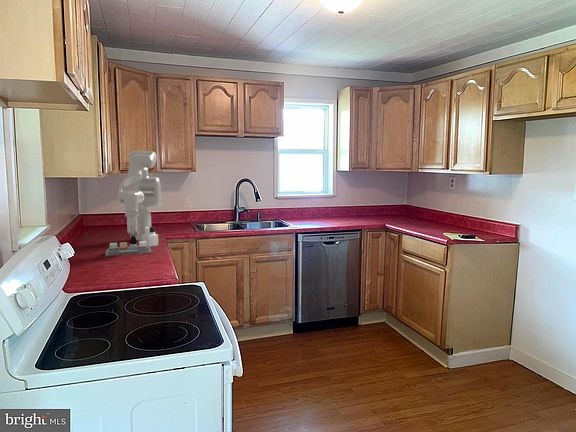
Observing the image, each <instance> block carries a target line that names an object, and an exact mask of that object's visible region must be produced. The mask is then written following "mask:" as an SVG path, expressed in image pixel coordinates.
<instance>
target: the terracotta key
mask: <svg viewBox="0 0 576 432" xmlns="http://www.w3.org/2000/svg"><path fill="white" fill-rule="evenodd" d="M119 247H120V248H127V247H128V242H127V241H125V242H119Z"/></svg>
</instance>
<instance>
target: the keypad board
mask: <svg viewBox="0 0 576 432" xmlns="http://www.w3.org/2000/svg"><path fill="white" fill-rule="evenodd" d="M151 248H152V247H148V246H146V247H140V246H139V245H137V248H131V249H130V246H127V248H120V246H119V247H118V246H117V248H116V249H110V247H108V248H107V249H106V250H105V254H104V257H112V256H113V255H115V256H125V255H127V256H128V255H139V254H153V253H152V249H151ZM113 257H114V256H113Z"/></svg>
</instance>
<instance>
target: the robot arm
mask: <svg viewBox="0 0 576 432" xmlns="http://www.w3.org/2000/svg"><path fill="white" fill-rule="evenodd" d="M156 153H157V152H155V151H153V150H133V151H130V152H129V153H128V161H129V163H128V173H127V175H126V177H125V178H124V179H123V180H122V181H121V182H120V184H119V185H118V186H119V187H118V195H117V197H118V202H119V203H121V204H124V216H125V218H126V225H127V229H126V230H127V234H130V237H129V239H130V245H134V244H137V241H138V242H140V241H142V235H143V234H145V227H152V214H151V211H150V210H149V209H148V208H158V207H161V205H162V189H161V188H162V187H161V181H160V178H159V177H157V176H149V169H152V168H154V166H155V165H156V163H157V159H158V158H157V157H158V156H157V154H156ZM134 184H135V189H136V190H126V189H127V188H128V187H129V186H131V185H134ZM154 234H156V232H155V233H154Z"/></svg>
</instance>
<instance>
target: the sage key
mask: <svg viewBox="0 0 576 432" xmlns="http://www.w3.org/2000/svg"><path fill="white" fill-rule="evenodd" d="M117 247H118V242H111V243H109V248H110V249H116V248H117Z"/></svg>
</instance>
